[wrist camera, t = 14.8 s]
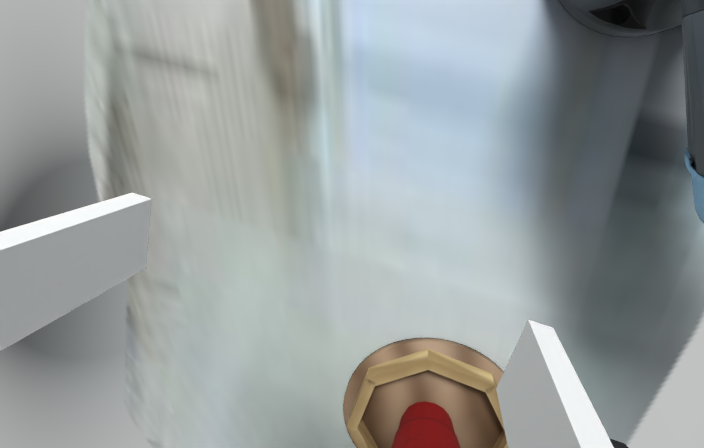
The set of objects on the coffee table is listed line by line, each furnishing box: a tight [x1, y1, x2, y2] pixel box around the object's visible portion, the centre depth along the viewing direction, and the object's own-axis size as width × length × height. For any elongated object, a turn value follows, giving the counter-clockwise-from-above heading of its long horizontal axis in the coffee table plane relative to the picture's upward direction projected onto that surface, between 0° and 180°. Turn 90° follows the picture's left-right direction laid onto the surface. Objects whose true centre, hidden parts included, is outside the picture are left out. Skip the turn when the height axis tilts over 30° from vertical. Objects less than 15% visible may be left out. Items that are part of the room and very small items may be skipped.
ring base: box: [343, 338, 508, 448], centre depth 47 cm, size 21×21×3 cm
